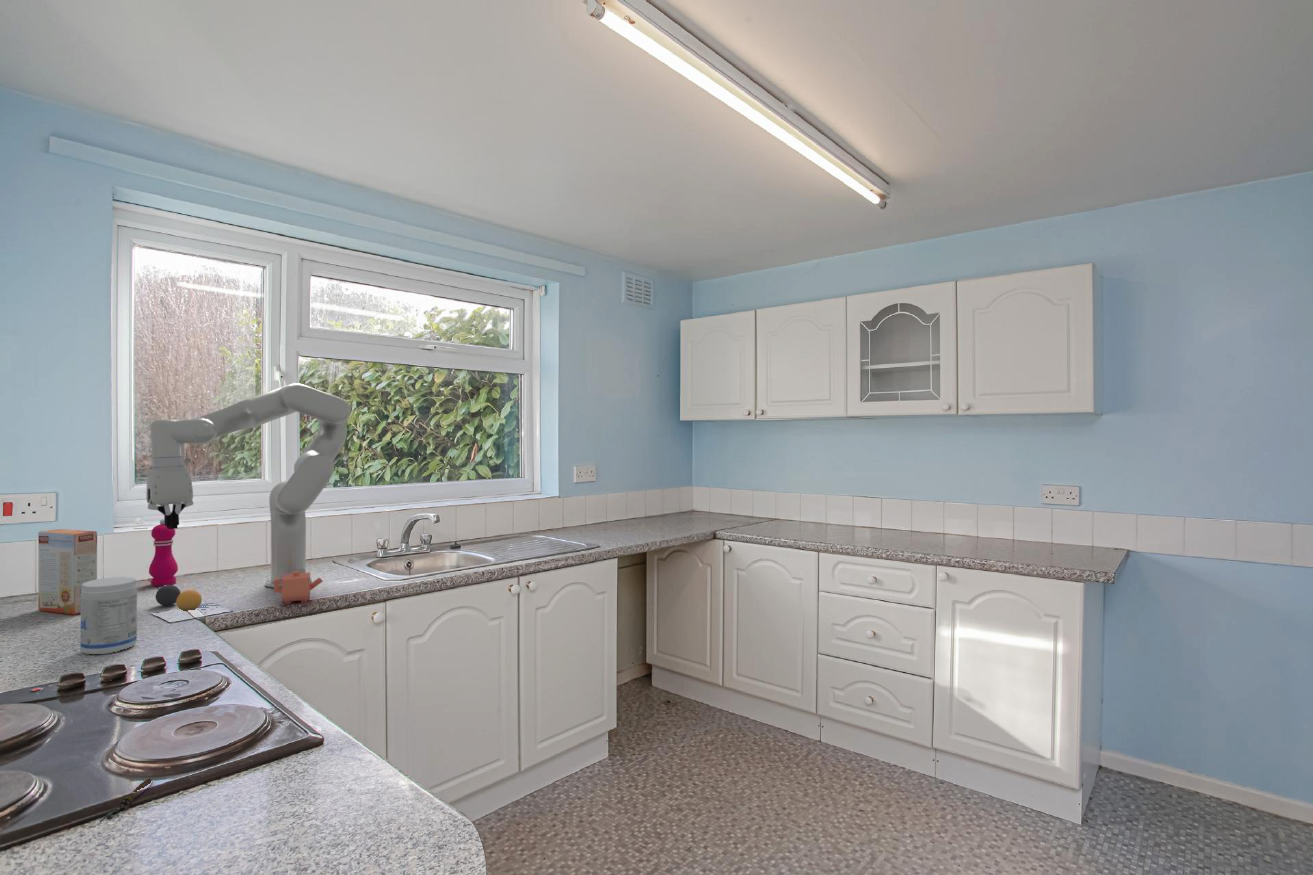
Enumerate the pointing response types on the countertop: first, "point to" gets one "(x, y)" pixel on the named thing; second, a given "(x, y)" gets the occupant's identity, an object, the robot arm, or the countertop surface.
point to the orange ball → (189, 600)
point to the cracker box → (65, 568)
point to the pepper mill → (163, 556)
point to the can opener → (127, 800)
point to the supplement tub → (108, 615)
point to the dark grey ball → (167, 595)
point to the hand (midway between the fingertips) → (172, 528)
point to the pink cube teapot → (295, 587)
